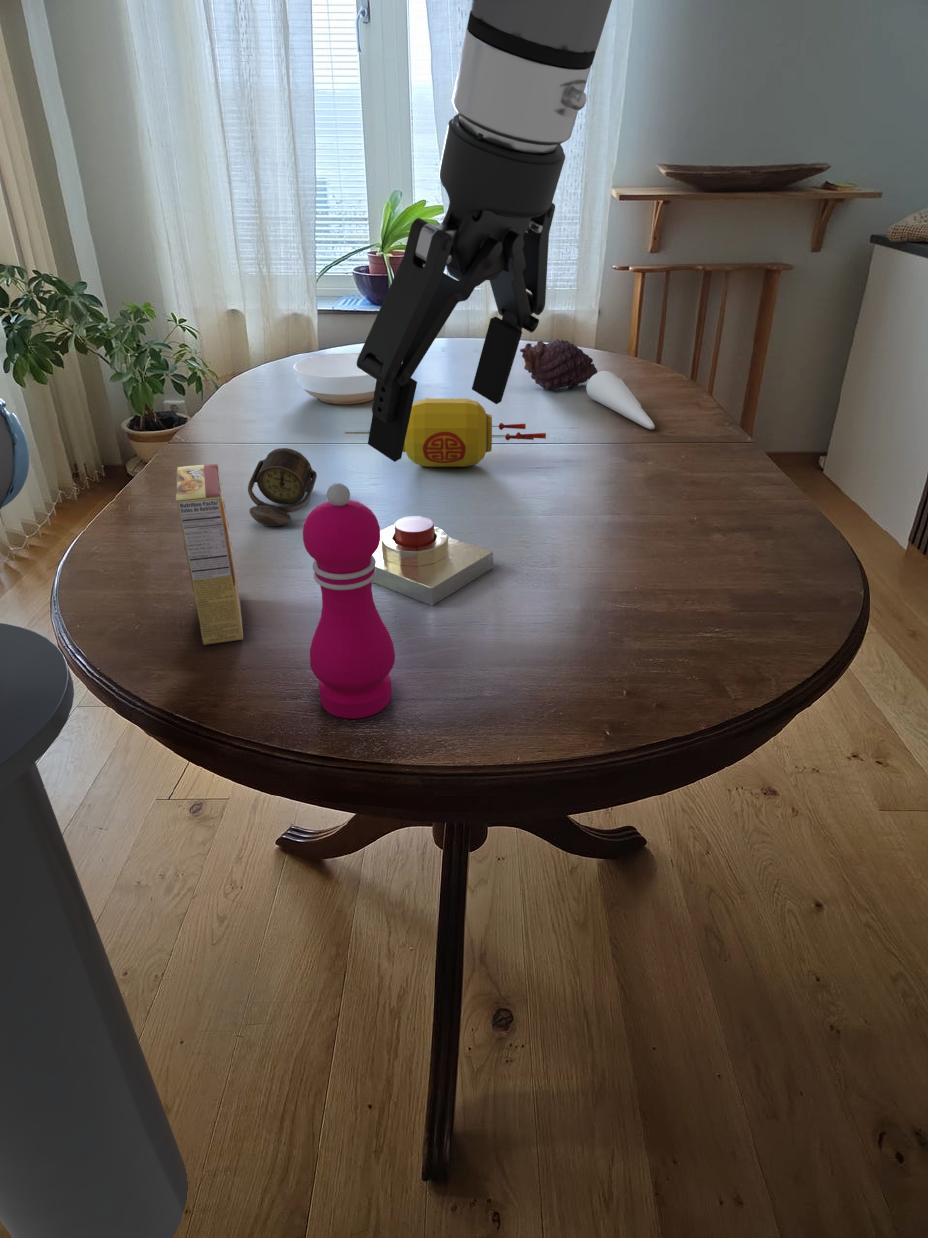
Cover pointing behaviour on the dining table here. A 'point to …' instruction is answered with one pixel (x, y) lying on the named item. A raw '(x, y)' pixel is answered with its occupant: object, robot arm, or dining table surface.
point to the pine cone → (557, 364)
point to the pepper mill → (348, 608)
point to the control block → (429, 566)
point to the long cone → (617, 397)
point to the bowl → (335, 378)
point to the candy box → (209, 552)
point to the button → (414, 531)
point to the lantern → (451, 433)
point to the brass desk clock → (281, 485)
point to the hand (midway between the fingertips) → (438, 421)
